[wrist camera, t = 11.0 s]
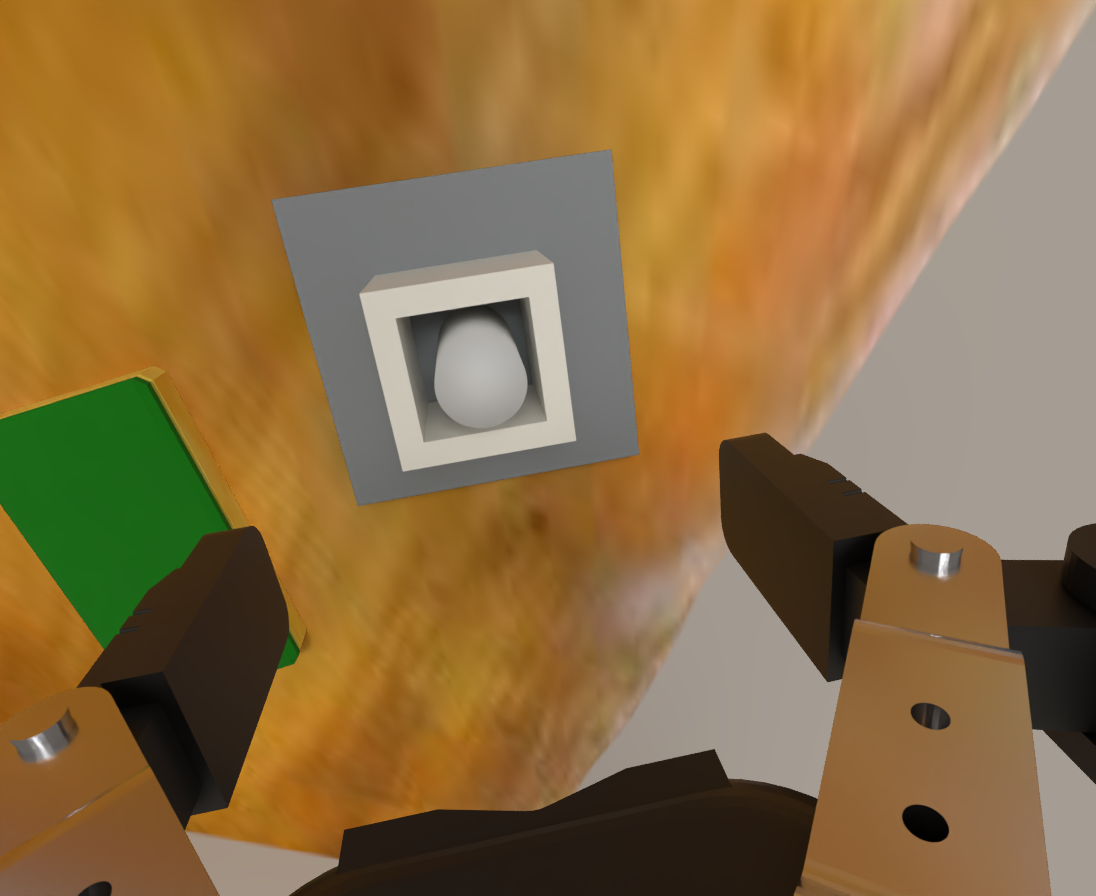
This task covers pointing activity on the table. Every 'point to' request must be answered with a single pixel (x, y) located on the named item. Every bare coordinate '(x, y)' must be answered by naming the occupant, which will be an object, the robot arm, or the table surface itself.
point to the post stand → (467, 311)
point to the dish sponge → (116, 494)
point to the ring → (413, 419)
